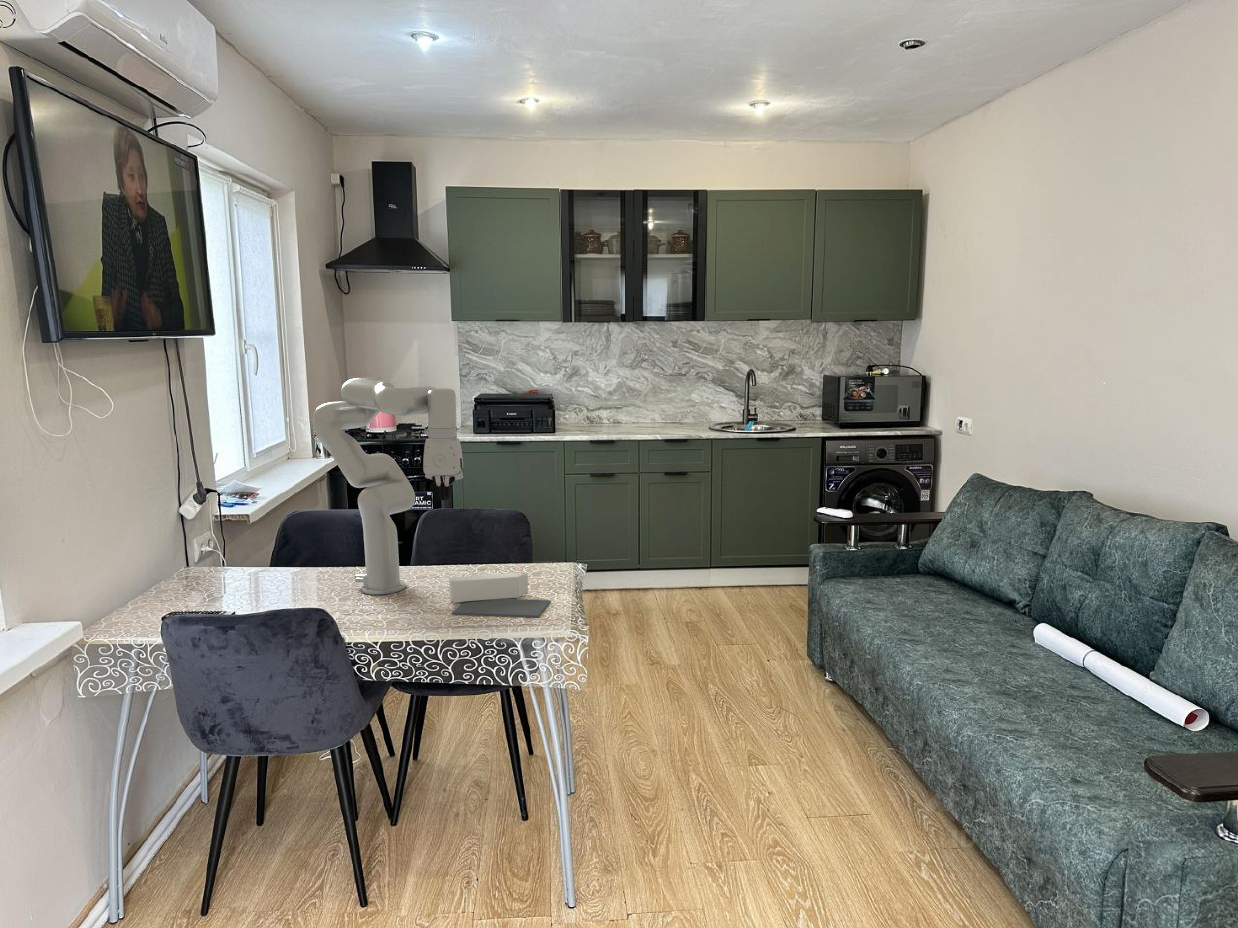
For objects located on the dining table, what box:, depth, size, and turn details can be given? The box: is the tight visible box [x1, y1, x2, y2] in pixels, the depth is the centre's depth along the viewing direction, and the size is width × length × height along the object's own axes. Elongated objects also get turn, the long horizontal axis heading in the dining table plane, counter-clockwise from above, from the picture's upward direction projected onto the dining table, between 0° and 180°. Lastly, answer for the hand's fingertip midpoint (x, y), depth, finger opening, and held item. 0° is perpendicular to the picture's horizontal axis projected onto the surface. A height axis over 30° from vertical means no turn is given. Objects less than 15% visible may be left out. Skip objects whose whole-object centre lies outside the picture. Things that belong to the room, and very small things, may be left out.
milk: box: [448, 572, 529, 603], centre depth 223 cm, size 6×6×22 cm
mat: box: [451, 598, 551, 619], centre depth 215 cm, size 24×13×1 cm, turn 82°
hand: (444, 499), depth 217 cm, fingers closed
